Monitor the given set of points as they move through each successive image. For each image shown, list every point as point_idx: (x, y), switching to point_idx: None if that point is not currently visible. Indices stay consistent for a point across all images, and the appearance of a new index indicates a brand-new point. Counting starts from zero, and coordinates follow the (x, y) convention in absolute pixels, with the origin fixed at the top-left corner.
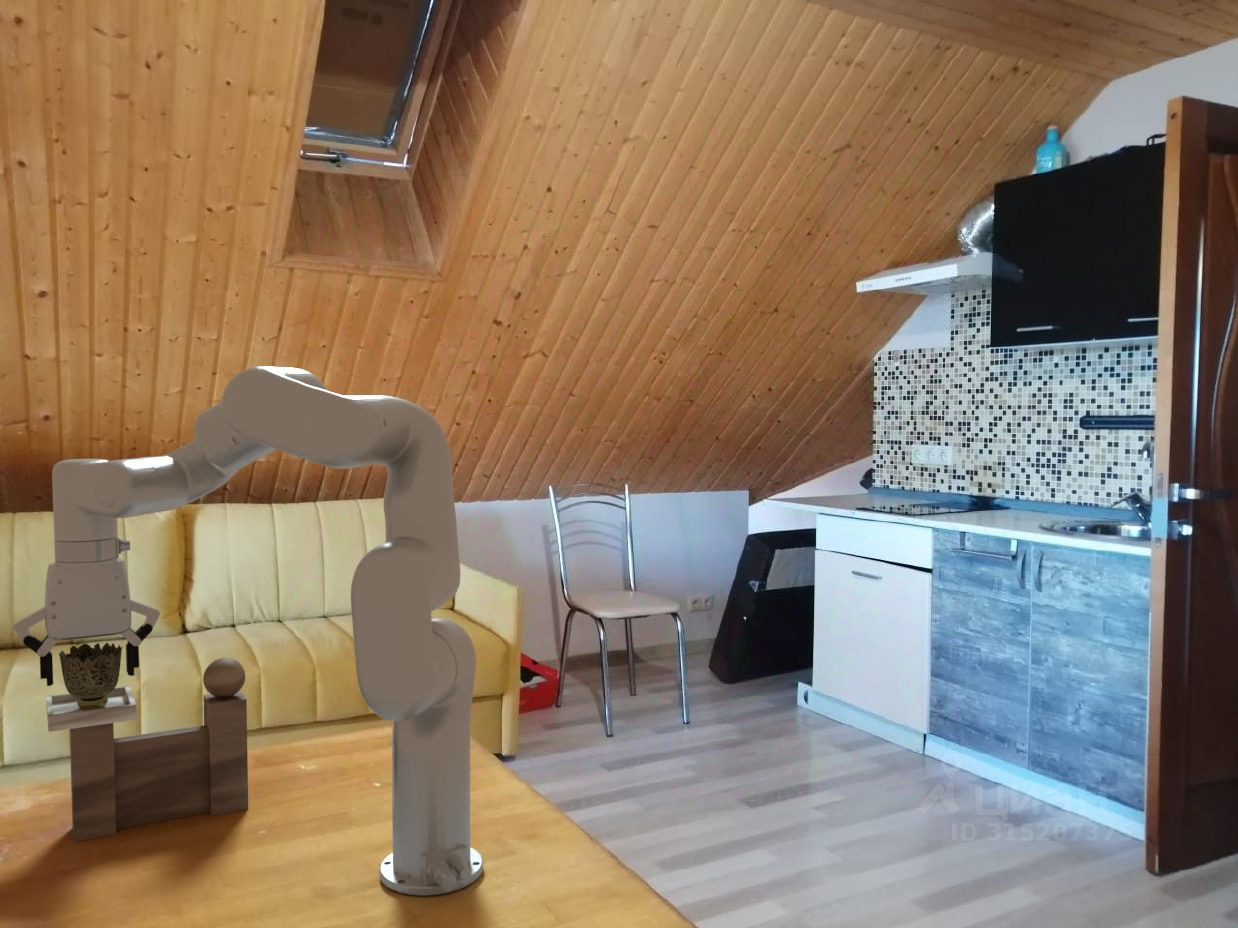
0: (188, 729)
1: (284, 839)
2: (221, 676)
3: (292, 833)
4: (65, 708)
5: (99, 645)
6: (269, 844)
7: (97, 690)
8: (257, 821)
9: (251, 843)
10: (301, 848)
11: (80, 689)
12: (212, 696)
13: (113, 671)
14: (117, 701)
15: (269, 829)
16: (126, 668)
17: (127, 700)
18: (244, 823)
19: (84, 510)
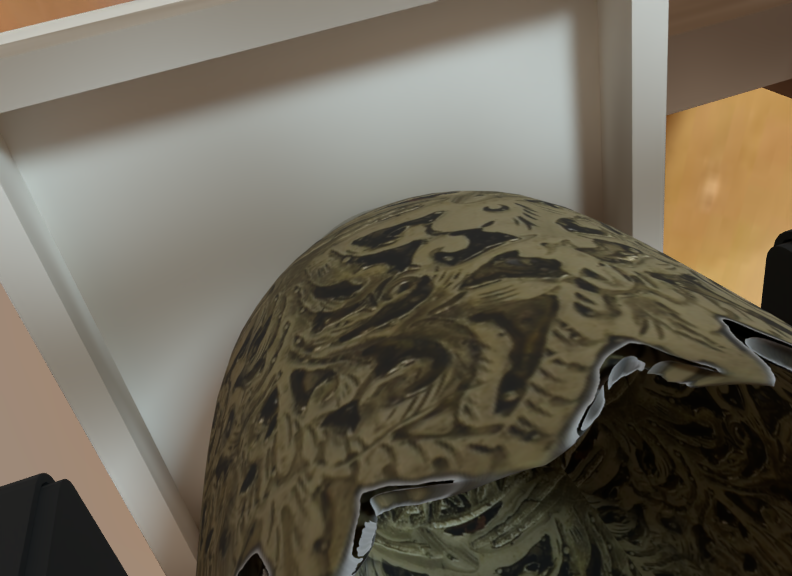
0: (773, 41)
1: (741, 244)
2: None
3: (766, 214)
4: (179, 269)
5: (750, 355)
6: (706, 265)
7: (493, 516)
8: (717, 114)
9: (673, 253)
10: (757, 297)
11: (383, 565)
12: None
13: (678, 552)
14: (538, 161)
15: (729, 177)
16: (785, 249)
17: (606, 181)
18: (685, 120)
19: None
